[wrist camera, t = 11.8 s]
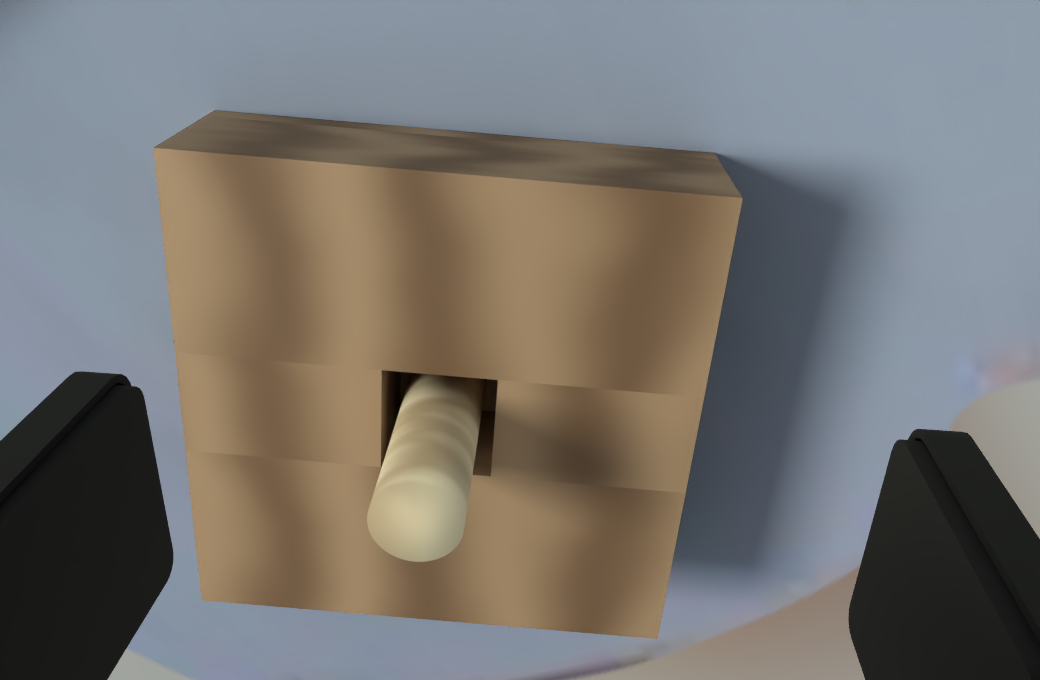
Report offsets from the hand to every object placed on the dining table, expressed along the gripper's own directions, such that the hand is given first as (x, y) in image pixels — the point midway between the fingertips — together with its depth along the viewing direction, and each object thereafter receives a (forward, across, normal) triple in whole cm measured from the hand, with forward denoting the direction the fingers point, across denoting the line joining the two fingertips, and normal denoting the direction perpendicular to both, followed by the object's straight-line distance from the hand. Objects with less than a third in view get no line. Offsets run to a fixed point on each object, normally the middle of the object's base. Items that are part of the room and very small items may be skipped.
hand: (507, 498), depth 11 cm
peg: (+25, +4, +12) cm, 28 cm away
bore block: (+26, +4, +12) cm, 29 cm away
